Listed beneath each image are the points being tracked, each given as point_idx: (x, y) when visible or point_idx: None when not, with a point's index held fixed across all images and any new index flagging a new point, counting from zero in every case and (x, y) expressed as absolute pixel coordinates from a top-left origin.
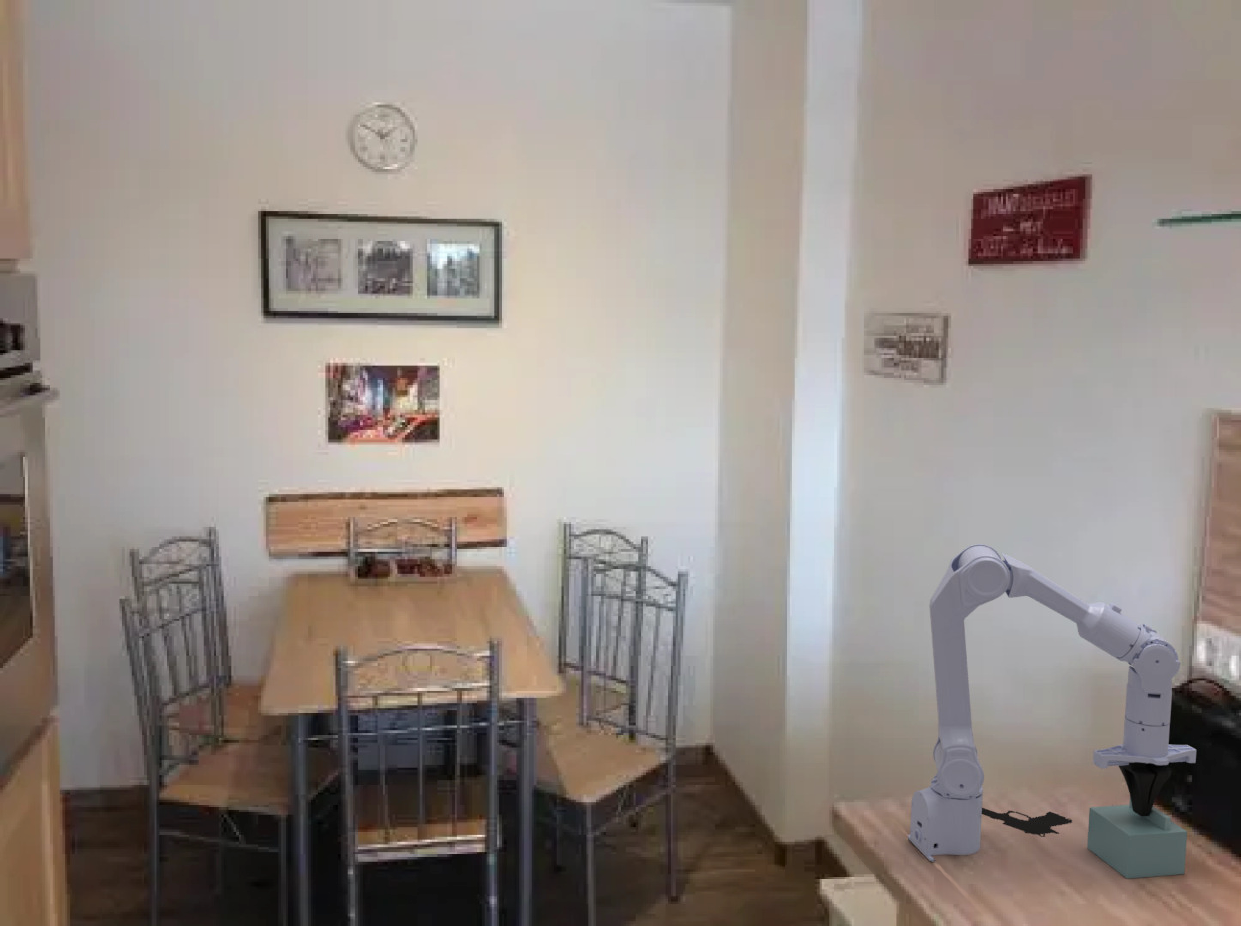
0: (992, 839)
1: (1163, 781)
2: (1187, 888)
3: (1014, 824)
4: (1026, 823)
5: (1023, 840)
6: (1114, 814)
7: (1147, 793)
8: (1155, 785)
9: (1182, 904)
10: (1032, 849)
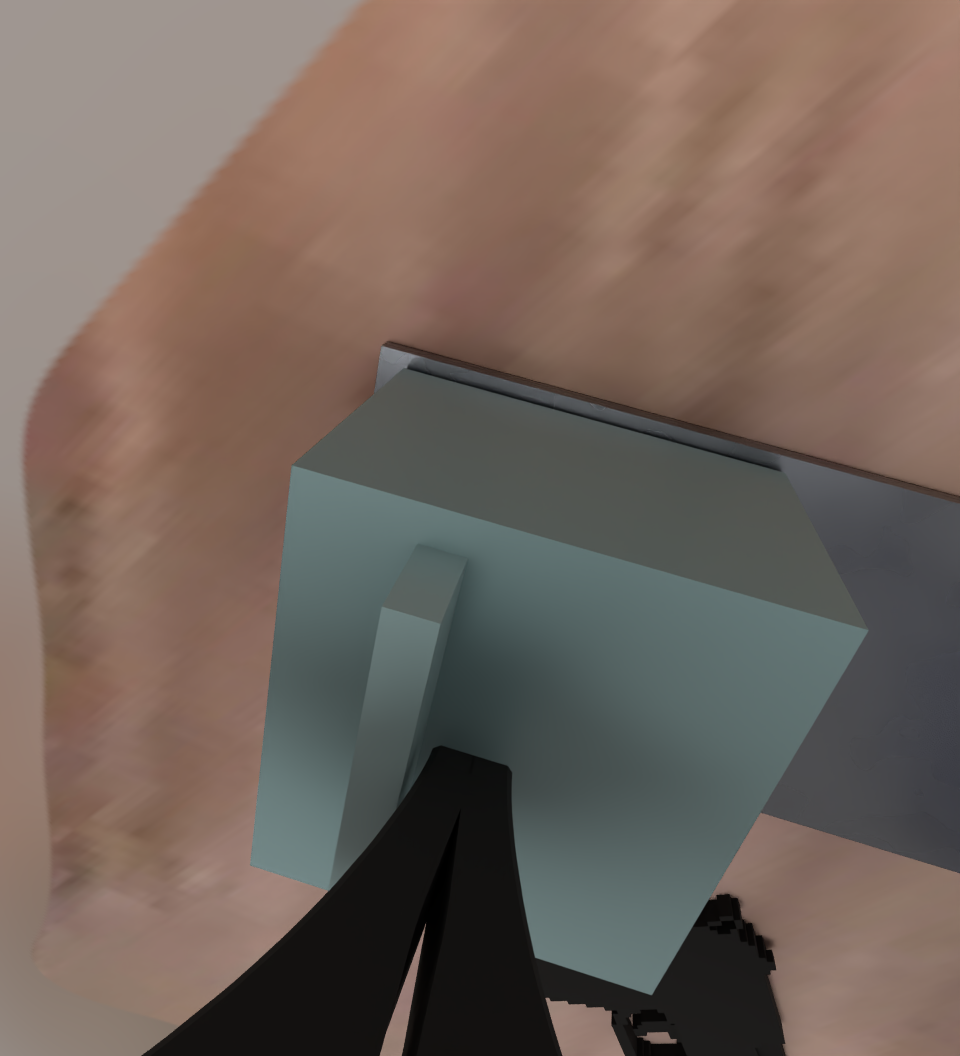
0: (928, 997)
1: (212, 1052)
2: (485, 266)
3: (743, 1019)
4: (684, 1001)
5: (806, 936)
6: (593, 878)
7: (462, 956)
8: (350, 1032)
9: (710, 105)
10: (856, 880)
